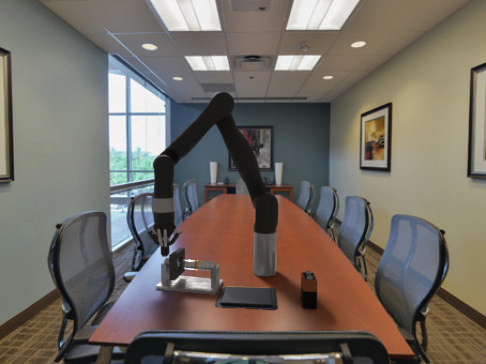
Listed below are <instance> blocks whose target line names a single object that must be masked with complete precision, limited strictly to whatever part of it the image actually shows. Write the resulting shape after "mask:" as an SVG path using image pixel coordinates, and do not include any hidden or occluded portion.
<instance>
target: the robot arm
mask: <svg viewBox="0 0 486 364" xmlns="http://www.w3.org/2000/svg"><path fill="white" fill-rule="evenodd" d="M234 108H235V99H234V98H233V96H232V95H231V94H230V93H229V92H227V91H219V92H216V93H215V94H213V95H212V97H211V98H210V100H209V102H208V103H207V105H206V107H205V109H204V108H203V109H204V110H203V111H202V112H201V113H200V114H199V115H198V116H197V117H196V118H195V120H193V121H192V122H191V123H190V124H189V125H188V126H187V127H185V129H184V130H182V131H181V133H179V134H178V136H176V137H175V138H174V140H173V141H172V142H171V143H170V144H169V145H168V146H167V147H166V148H165V149H164V150H163V151H162V152H161V153H159V154H158V156H157V155H156V157H155V159H154V160H153V162H152V168H153V175H154V176H153V178H154V184H153V204H152V205H153V206H152V207H153V209H152V210H153V226H152V229H150V230H148V231H147V234H148V237H150V238H151V240H152V241H153V243H154V244H155V245H156V246H159V247H160V255H161V257H163V258H164V257H165V258H168V257H169V255H170V254H171V253H170V247H171V246H173V245H174V244H175V243H176V241H177V240H178V239H179V238H180V236H182V233H183V231H181V230H178V229H177V226H176V224H175V223H176V215H175V214H176V210H175V208H176V206H175V192H174V189H175V187H174V179H175V178H174V177H175V166H176V165H177V164H178V163H179V162H180V161H181V160H182V159H183V158H184V157H186V156H187V155H189V153H190V152H191V151H192V150H193V149H194V148H195V147H196V146H197V145H198V144H199V143H200V141H202V139H203V138H204V137H205V135H206V134H207V133H208V132H209V131H210V130H211V129H212V128H213V127H214V126H216V127H217V129H218V131H219V132H220V135H221V138H222V140H223V142H224V145H225V147H226V149H227V152H228V154H229V156H230V159H231V161H232V163H233V165H234V166H235V169H236V171H237V172H238V175H239V176H240V178H241V180H242V181H243V183H244V185H245V186H246V190H247V191H248V195H249V197H250V200H251V204H252V206H253V209H254V210H255V215H254V217H255V219H254V223H253V252H252V253H253V254H252V255H253V258H252V259H253V261H252V263H253V265H252V266H253V268H252V269H253V270H252V271H253V274H254V275H256V276H259V277H266V278H267V277H275V276H276V273H277V250H278V249H277V227H278V223H279V201H278V198H277V196H276V195H274V194H273V193H271V192H270V191H269V190H268V188H267V187H266V184H265V182H264V180H263V177H262V174H261V169H260V166H259V162H258V158H257V155H256V154H255V152H254V149H253V147H252V146H251V144H250V141H249V140H248V139H247V138H246V136H245V135H244V134H243V133H242V132H241V130H240V129H239V128H238V126H237V124H236V122H235V119H234V116H233V114H232V112H233V111H234ZM172 235H173V236H172Z"/></svg>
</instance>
